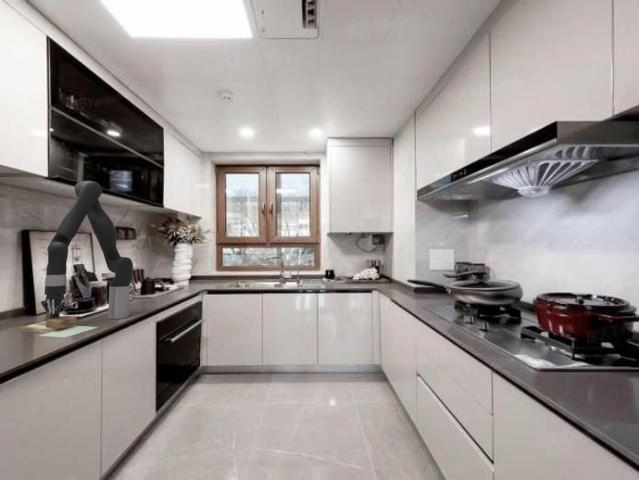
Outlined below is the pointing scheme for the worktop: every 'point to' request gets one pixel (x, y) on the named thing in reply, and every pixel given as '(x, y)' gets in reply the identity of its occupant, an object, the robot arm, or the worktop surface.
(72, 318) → the walnut tile
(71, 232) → the robot arm
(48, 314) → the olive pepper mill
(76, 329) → the sage mat
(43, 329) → the birch deck
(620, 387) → the worktop surface
